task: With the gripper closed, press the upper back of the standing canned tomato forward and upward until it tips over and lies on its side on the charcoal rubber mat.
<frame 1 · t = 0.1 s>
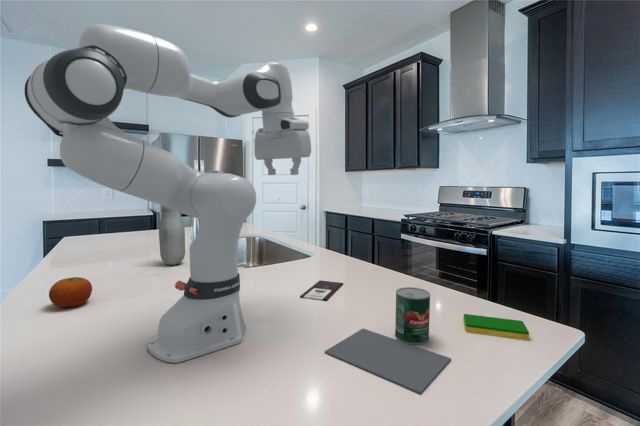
hand: (283, 174, 98), 39 cm above the countertop, tool pointing down, fingers open, 8 cm apart
fruit: (72, 305, 103), on the countertop
grey bottle: (173, 264, 151), on the countertop
dish sponge: (493, 332, 86), on the countertop
rubber mat: (386, 356, 73), on the countertop
chocolate bar: (322, 292, 116), on the countertop
canned tomato: (411, 337, 82), on the countertop
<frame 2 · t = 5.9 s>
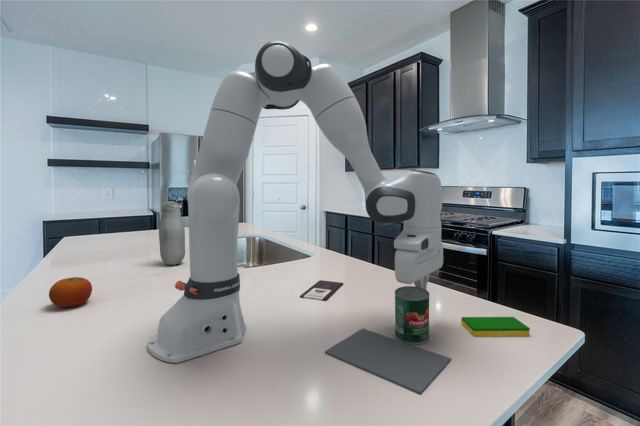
hand: (420, 292, 84), 10 cm above the countertop, tool pointing down, fingers closed
canned tomato: (411, 336, 82), on the countertop, touching gripper
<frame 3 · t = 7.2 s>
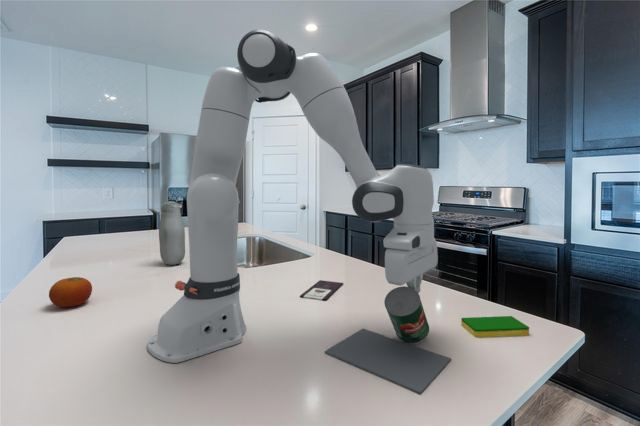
hand: (414, 293, 80), 11 cm above the countertop, tool pointing down, fingers closed
canned tomato: (412, 329, 81), point 2 cm above the countertop, touching gripper
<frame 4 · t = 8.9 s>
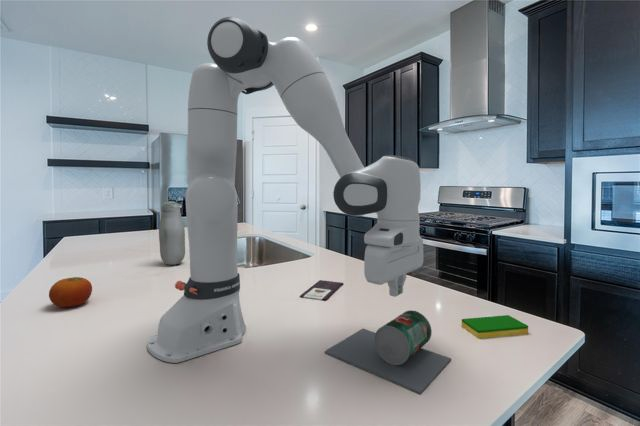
hand: (396, 294, 74), 13 cm above the countertop, tool pointing down, fingers closed
canned tomato: (415, 327, 77), point 4 cm above the countertop, touching rubber mat
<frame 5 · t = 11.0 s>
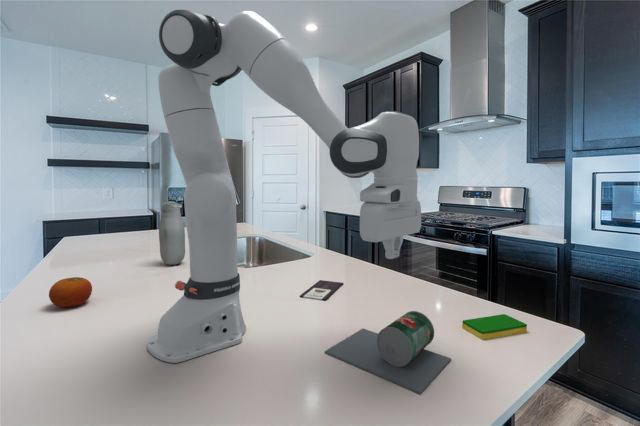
hand: (392, 257, 72), 21 cm above the countertop, tool pointing down, fingers closed
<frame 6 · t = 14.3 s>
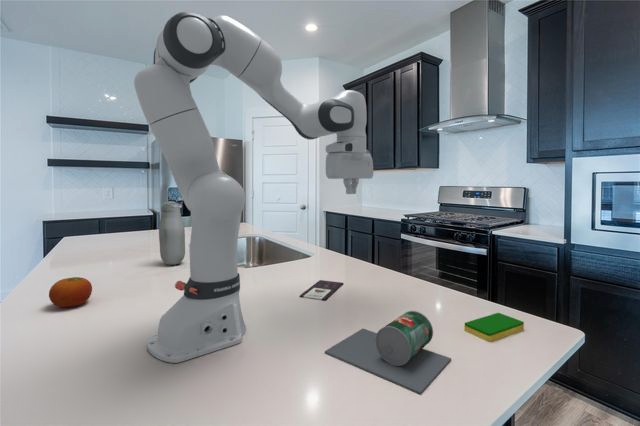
hand: (351, 194, 104), 33 cm above the countertop, tool pointing down, fingers closed
at the end: canned tomato tilted 90°; canned tomato touching rubber mat; canned tomato inside the target area (6.5 cm from its centre), point 4.3 cm above the countertop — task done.
